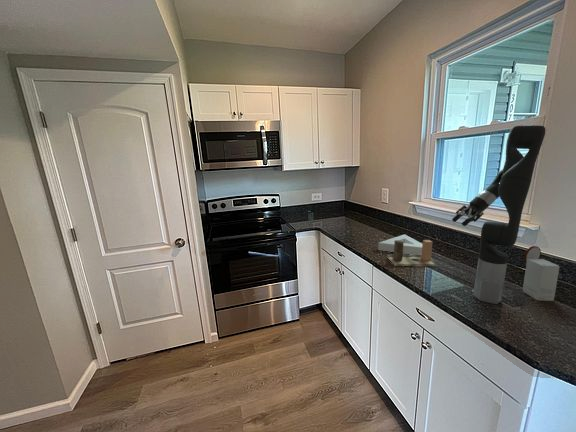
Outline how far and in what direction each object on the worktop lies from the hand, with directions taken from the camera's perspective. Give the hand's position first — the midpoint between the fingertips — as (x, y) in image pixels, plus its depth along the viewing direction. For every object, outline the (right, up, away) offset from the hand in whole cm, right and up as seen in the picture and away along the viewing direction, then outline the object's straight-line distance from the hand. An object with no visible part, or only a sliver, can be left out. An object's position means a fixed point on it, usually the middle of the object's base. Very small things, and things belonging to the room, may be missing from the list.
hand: (457, 222), depth 133 cm
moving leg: (-12, -21, +11) cm, 26 cm away
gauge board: (-21, -23, +11) cm, 33 cm away
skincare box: (+15, -31, -27) cm, 44 cm away
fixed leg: (-28, -21, +12) cm, 37 cm away
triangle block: (-13, -19, +35) cm, 42 cm away
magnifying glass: (+17, -29, -20) cm, 40 cm away
